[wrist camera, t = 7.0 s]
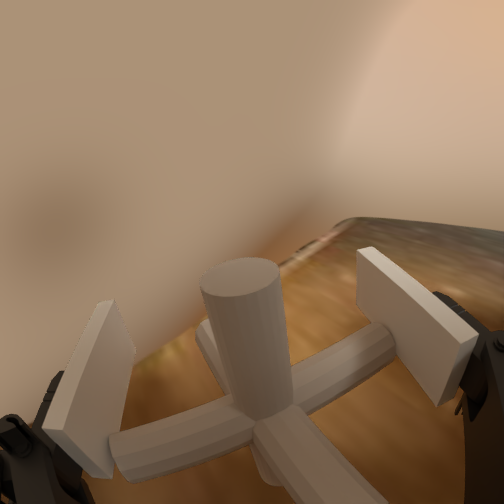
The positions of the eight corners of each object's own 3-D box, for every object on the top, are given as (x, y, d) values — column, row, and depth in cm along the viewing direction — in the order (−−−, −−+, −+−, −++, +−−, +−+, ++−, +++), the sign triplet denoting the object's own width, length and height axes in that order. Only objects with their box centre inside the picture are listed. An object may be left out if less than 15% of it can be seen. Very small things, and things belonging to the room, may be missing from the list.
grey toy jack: (151, 432, 13) (62, 266, 9) (312, 365, 17) (299, 195, 13) (221, 598, 5) (15, 562, 1) (434, 476, 8) (538, 275, 4)
